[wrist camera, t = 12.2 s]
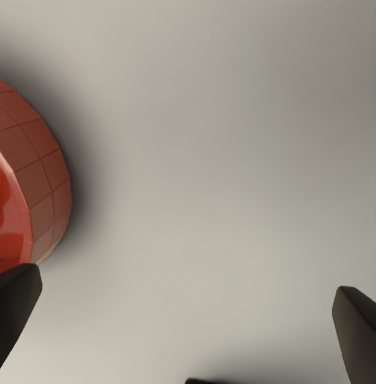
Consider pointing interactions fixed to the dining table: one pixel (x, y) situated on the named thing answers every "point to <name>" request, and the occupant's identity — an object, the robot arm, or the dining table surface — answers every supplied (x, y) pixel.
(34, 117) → the bowl
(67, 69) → the dining table surface
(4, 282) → the robot arm
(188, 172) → the dining table surface
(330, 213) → the dining table surface
